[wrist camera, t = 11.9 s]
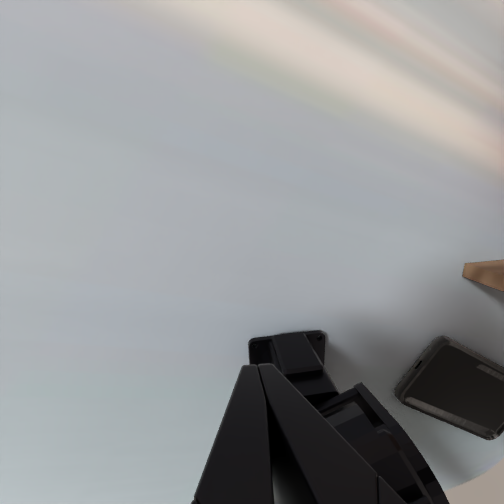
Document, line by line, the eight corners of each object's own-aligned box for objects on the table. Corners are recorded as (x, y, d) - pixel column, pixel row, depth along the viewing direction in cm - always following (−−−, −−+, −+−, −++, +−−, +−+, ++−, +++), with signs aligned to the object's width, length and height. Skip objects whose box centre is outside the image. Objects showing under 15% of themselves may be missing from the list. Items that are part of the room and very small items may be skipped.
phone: (493, 442, 27) (395, 401, 23) (482, 432, 28) (388, 391, 24) (542, 388, 25) (447, 336, 22) (529, 380, 27) (436, 329, 23)
